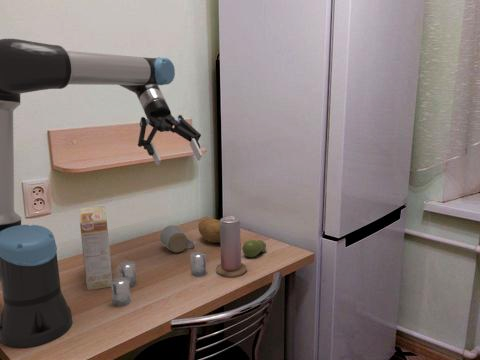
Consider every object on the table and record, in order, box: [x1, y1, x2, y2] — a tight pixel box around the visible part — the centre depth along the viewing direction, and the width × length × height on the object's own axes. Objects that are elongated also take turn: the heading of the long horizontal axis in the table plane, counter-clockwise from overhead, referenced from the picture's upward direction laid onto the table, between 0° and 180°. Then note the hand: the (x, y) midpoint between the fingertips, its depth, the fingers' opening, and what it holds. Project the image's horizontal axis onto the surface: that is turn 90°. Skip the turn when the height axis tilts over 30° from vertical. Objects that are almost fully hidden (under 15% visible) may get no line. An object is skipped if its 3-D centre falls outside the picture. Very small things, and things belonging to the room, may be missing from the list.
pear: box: [241, 239, 267, 258], centre depth 138 cm, size 6×5×10 cm
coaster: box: [215, 262, 247, 278], centre depth 126 cm, size 9×9×1 cm
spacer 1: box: [111, 276, 132, 307], centre depth 108 cm, size 4×4×6 cm
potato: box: [197, 217, 220, 244], centre depth 150 cm, size 10×14×8 cm
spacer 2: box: [190, 250, 207, 278], centre depth 125 cm, size 4×4×6 cm
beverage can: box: [219, 216, 242, 271], centre depth 125 cm, size 6×6×15 cm
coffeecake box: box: [79, 205, 113, 291], centre depth 121 cm, size 15×7×20 cm, turn 20°
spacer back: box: [118, 260, 137, 289], centre depth 118 cm, size 4×4×6 cm
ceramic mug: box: [159, 224, 195, 254], centre depth 144 cm, size 11×8×8 cm
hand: (180, 160), depth 125 cm, fingers open, 13 cm apart
